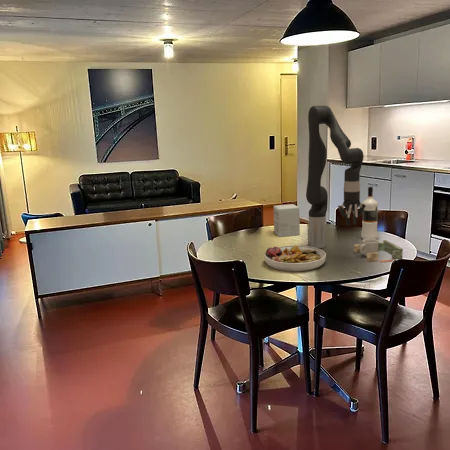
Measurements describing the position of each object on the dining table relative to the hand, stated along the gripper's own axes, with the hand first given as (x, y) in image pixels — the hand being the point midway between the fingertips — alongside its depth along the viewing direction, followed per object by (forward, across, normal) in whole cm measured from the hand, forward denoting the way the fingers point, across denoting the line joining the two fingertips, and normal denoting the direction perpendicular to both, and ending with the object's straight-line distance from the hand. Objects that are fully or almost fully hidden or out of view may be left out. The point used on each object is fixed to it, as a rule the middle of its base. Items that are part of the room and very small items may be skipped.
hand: (351, 224), depth 216 cm
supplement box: (+17, -18, +57) cm, 62 cm away
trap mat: (+17, +14, -10) cm, 24 cm away
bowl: (+18, -29, 0) cm, 34 cm away
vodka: (+17, +24, +31) cm, 43 cm away
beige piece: (+17, +13, 0) cm, 21 cm away
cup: (+17, +9, 0) cm, 19 cm away
